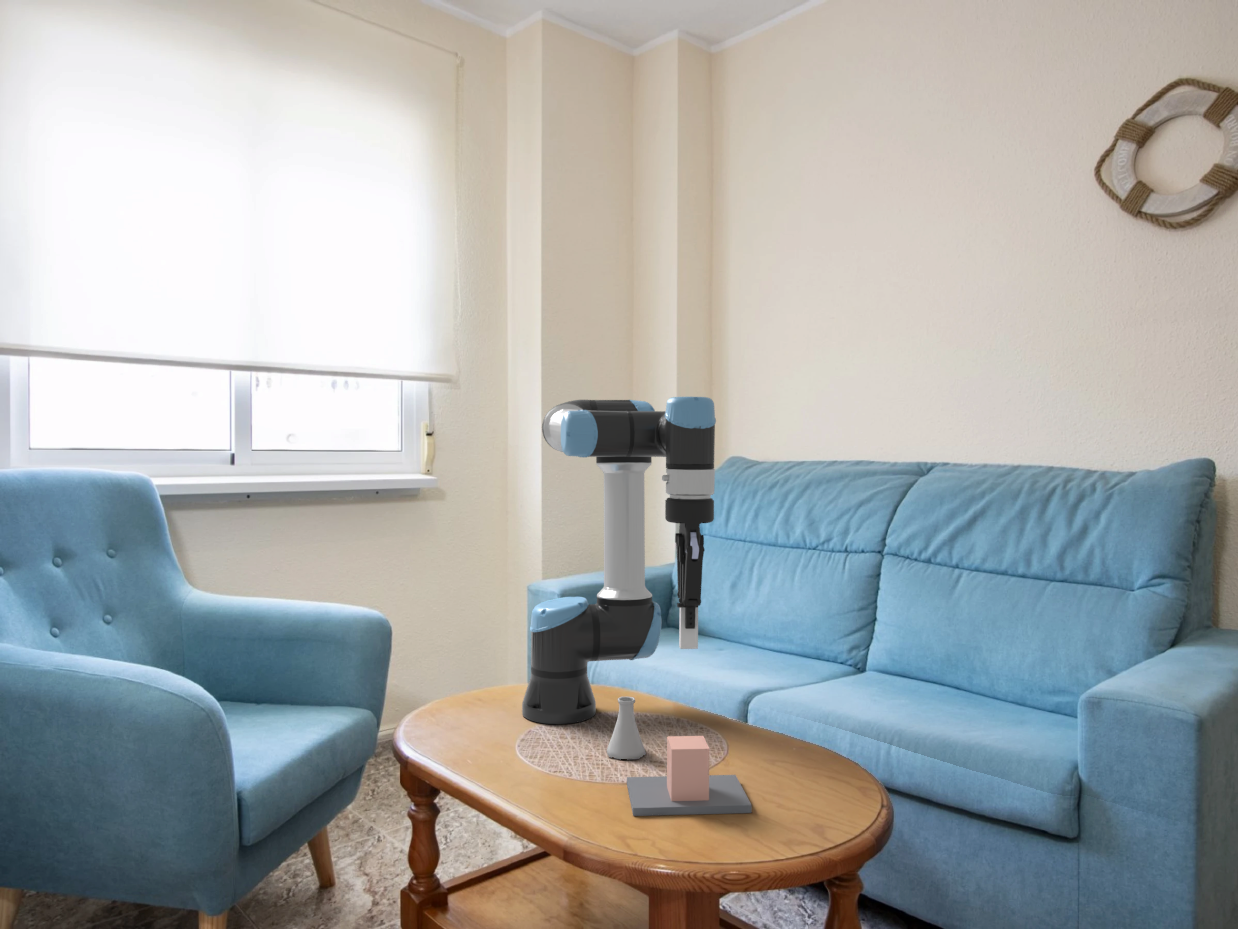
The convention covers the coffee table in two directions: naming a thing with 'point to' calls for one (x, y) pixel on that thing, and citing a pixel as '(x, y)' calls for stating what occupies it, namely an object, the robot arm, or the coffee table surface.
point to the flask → (626, 733)
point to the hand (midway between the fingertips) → (688, 647)
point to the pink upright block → (687, 768)
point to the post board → (655, 800)
